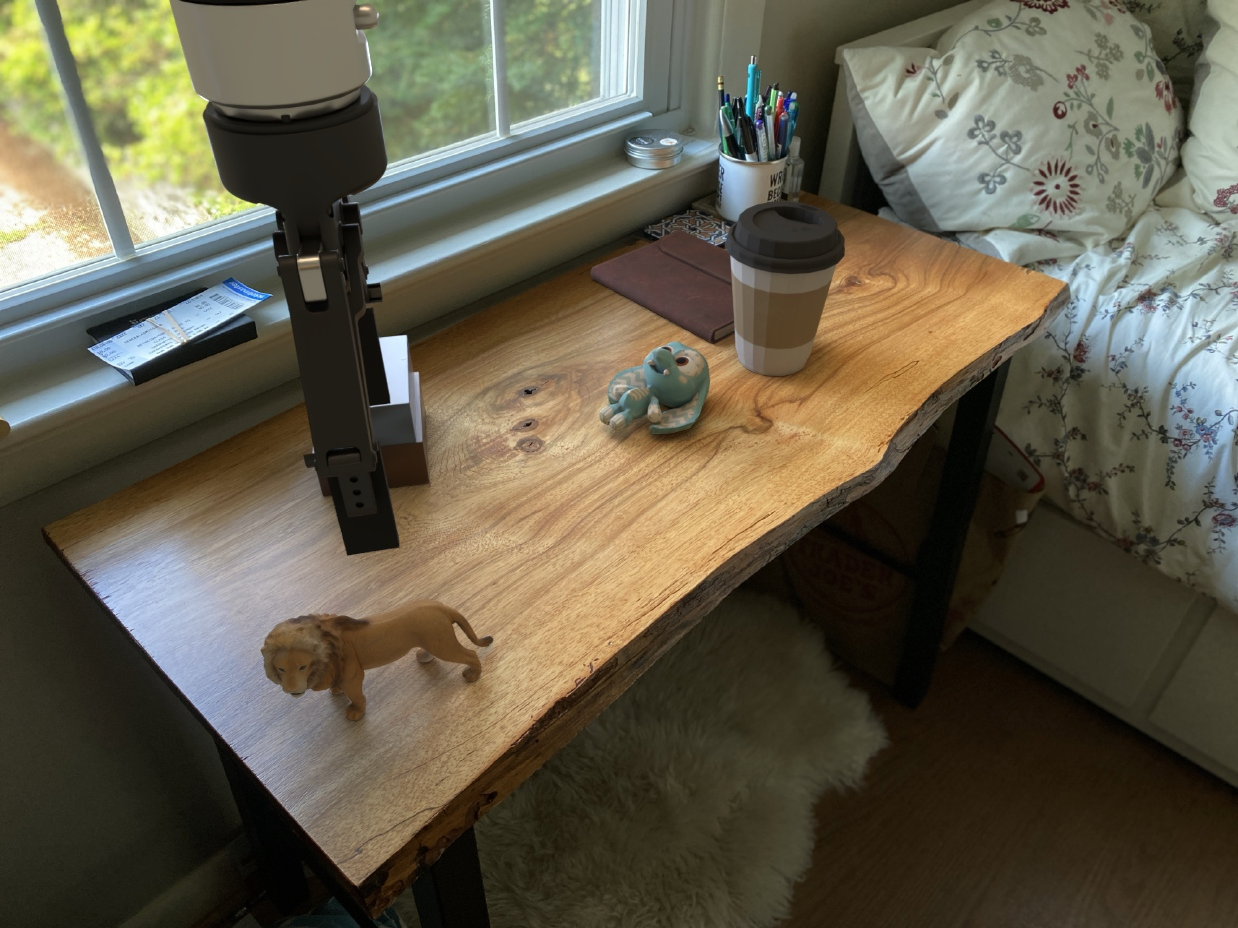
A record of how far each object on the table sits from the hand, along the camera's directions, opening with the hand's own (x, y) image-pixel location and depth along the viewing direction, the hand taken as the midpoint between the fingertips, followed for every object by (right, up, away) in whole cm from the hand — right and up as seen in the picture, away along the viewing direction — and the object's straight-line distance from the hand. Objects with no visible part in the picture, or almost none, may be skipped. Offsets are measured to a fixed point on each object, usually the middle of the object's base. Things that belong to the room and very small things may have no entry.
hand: (371, 468), depth 54 cm
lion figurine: (-1, -15, +9) cm, 18 cm away
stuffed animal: (+18, +5, +35) cm, 39 cm away
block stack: (-7, +1, +30) cm, 31 cm away
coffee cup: (+30, +11, +42) cm, 53 cm away
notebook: (+23, +20, +54) cm, 62 cm away
